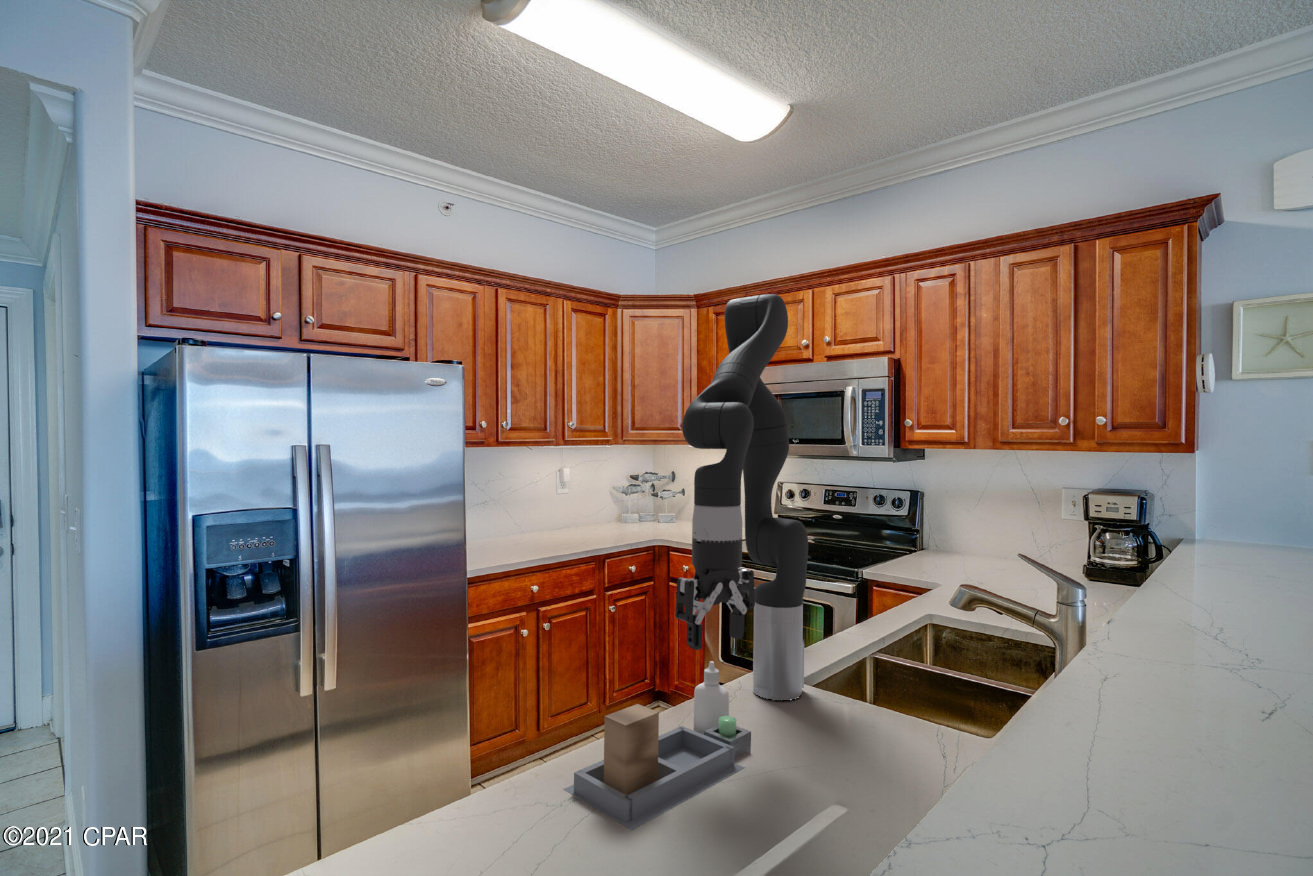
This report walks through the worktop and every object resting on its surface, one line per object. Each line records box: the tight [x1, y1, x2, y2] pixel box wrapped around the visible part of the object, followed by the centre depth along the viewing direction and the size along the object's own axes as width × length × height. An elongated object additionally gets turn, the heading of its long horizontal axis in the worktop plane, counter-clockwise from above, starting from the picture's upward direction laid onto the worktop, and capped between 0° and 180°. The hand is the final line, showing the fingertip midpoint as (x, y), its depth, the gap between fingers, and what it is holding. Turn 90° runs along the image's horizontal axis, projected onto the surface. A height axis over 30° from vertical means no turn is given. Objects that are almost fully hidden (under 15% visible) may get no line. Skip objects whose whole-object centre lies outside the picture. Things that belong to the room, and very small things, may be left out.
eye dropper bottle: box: [693, 660, 730, 735], centre depth 107 cm, size 4×6×12 cm
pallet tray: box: [563, 725, 745, 831], centre depth 91 cm, size 22×13×4 cm, turn 136°
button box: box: [704, 724, 752, 758], centre depth 100 cm, size 5×5×4 cm
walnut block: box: [603, 703, 660, 796], centre depth 87 cm, size 6×4×10 cm, turn 136°
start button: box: [719, 715, 737, 738], centre depth 100 cm, size 3×3×3 cm
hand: (716, 643), depth 100 cm, fingers open, 8 cm apart
